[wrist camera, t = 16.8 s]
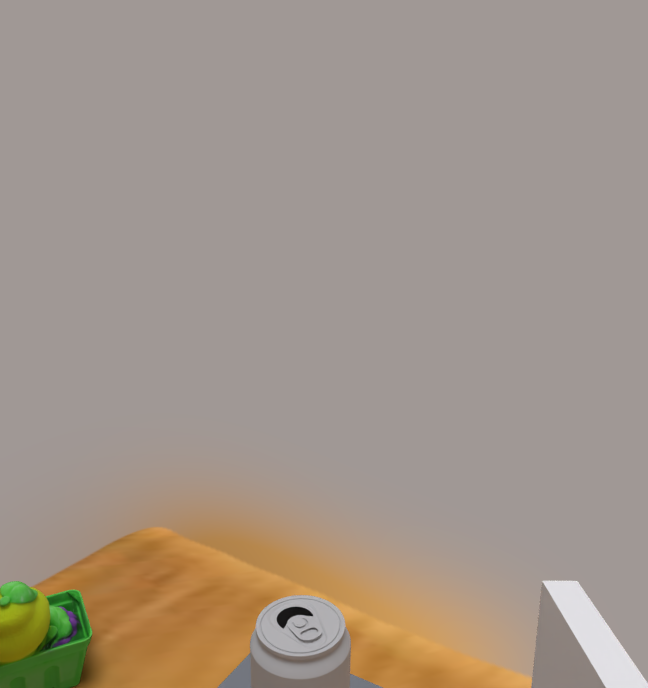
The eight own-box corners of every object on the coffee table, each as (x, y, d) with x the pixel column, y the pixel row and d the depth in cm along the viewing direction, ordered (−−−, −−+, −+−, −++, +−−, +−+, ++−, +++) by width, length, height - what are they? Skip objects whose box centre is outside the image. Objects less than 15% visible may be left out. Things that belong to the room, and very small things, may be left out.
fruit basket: (83, 633, 56) (73, 524, 54) (101, 699, 49) (90, 576, 46) (-60, 680, 51) (-79, 560, 48) (-65, 762, 43) (-87, 625, 41)
